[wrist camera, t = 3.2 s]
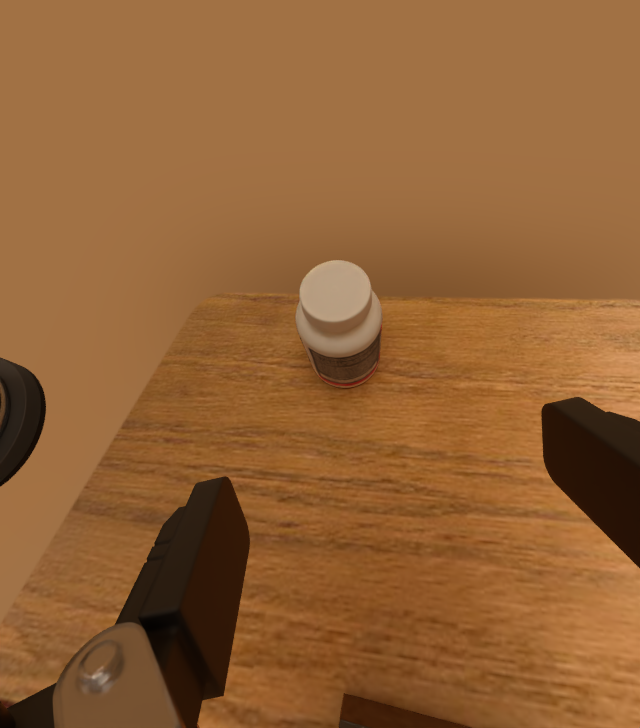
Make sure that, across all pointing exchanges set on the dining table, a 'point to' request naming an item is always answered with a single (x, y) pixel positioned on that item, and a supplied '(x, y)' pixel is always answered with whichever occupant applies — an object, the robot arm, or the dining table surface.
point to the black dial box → (384, 716)
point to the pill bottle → (340, 323)
